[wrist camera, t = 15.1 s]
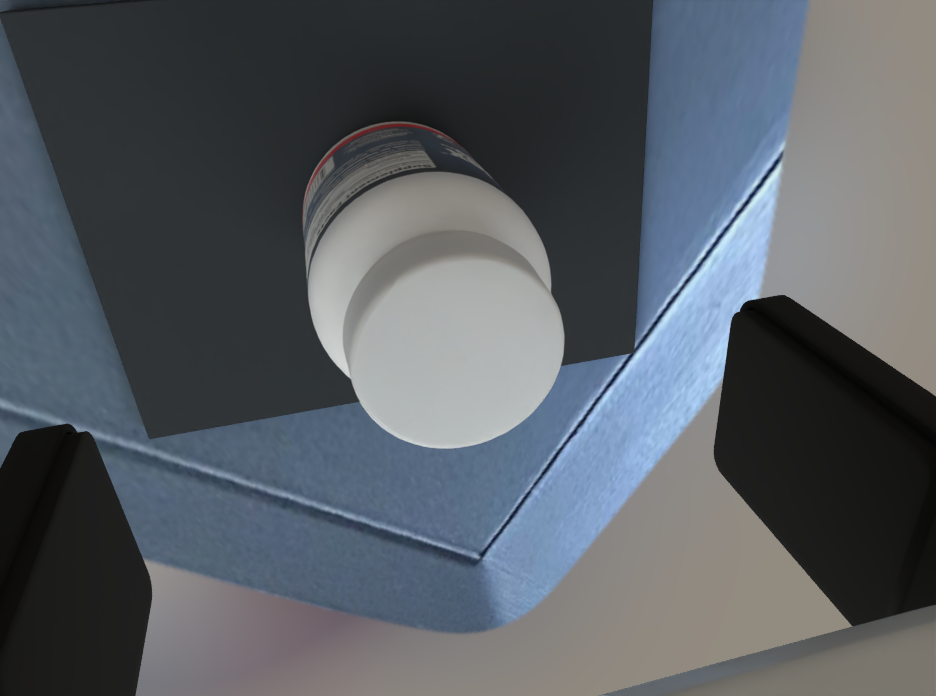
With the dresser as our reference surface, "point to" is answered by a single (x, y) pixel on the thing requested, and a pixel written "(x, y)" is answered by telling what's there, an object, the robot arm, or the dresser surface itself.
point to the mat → (299, 152)
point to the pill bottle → (429, 287)
